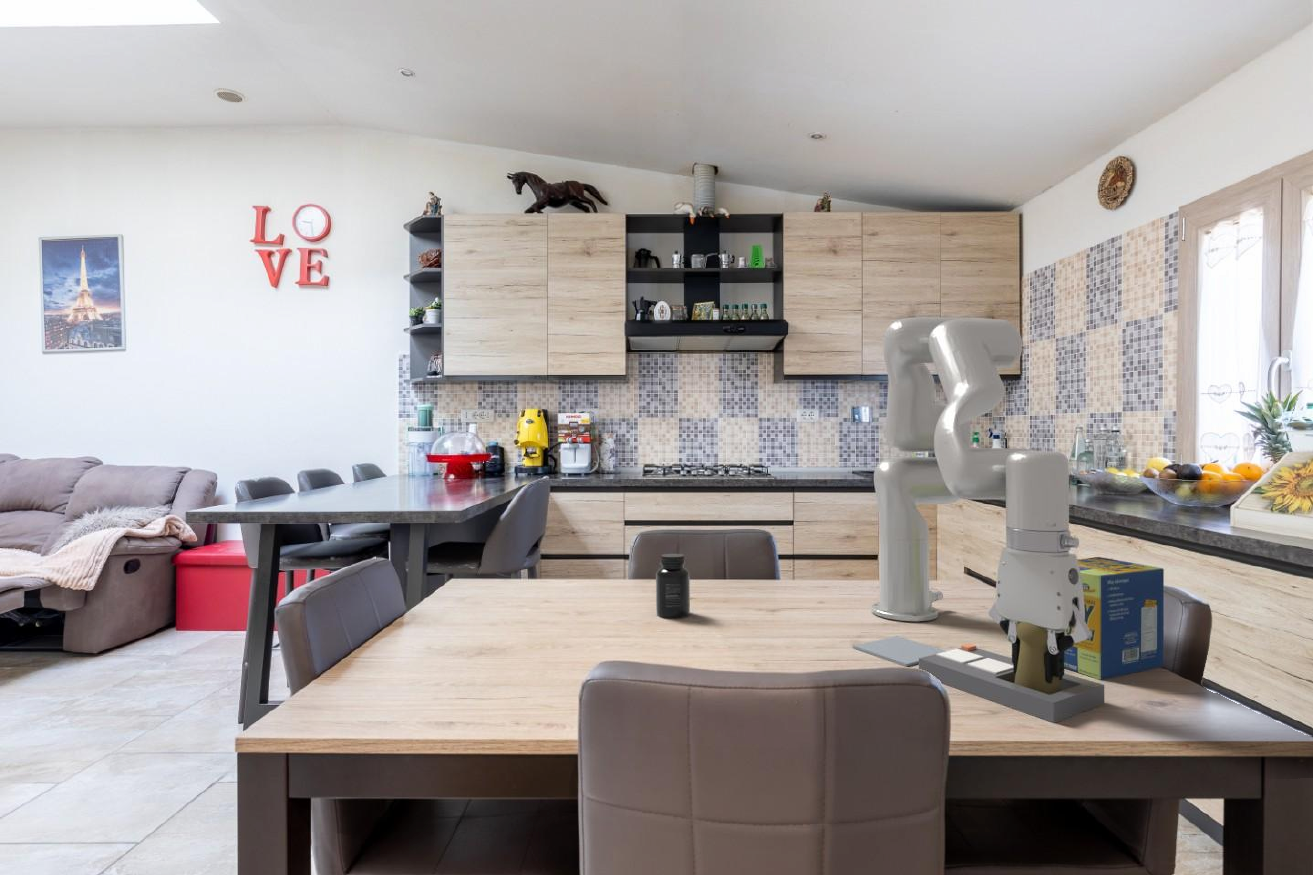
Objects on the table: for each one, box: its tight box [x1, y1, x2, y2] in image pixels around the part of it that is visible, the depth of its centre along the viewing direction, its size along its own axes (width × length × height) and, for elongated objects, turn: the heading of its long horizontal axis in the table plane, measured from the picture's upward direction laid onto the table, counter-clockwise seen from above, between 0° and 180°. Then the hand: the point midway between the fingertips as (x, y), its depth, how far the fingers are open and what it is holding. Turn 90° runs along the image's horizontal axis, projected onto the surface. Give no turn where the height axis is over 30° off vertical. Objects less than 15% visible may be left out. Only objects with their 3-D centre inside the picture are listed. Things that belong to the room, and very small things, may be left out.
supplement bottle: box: [655, 553, 691, 619], centre depth 138 cm, size 7×7×12 cm
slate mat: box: [852, 635, 947, 667], centre depth 113 cm, size 11×11×1 cm
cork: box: [1014, 622, 1062, 695], centre depth 93 cm, size 6×6×11 cm
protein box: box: [1064, 556, 1165, 681], centre depth 107 cm, size 10×15×16 cm
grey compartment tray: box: [918, 643, 1105, 724], centre depth 96 cm, size 12×20×3 cm, turn 30°
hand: (1037, 674), depth 93 cm, fingers closed on cork, 3 cm apart
